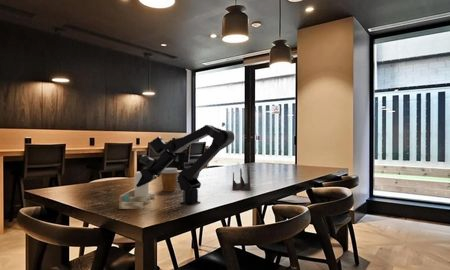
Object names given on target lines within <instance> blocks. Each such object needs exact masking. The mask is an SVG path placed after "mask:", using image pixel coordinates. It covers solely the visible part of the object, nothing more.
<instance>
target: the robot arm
mask: <svg viewBox="0 0 450 270" xmlns="http://www.w3.org/2000/svg"><path fill="white" fill-rule="evenodd" d="M206 137H210V138H212V141H211V144H210V146H208V147H207V148H206V150H205V151H204V152H203V153H202V154H201V155H200V156H199V157H198V158H197V160H196V161H195V162H193V164H192V165H189V166H185V167H183V168H182V169H181V171H179V172H177V175H178V176H176V179H177V183H178V185H179V188H180V191H183V192H182V201H180V204H183V205H187V206H192V205H197V204H201V203H202V202H201V201H199V190H198V189H200V188H201V186H202V183H201V181H200V180H199V177H200V172H201V171H203V170H204V169H205V167H207V165H208V164H209V163H210V162H211V161H212V160H213V159H214V158H215V156H217V155H218V153H220V151H222V150H224V149H225V148H227V147H228V146H229V145H232V143H233V142H234V141H235V134H234V132H233V131H232V130H228V129H227V130H226V129H222V128H219V127H216V126H214V125H210V124H205V125H203V127H201V128H198V129H196V130H195V131H193V132H190V133H188V134H186V135H184V136H182V137H179V138H178V137H177V138H174V139H170V140H169V141H167V142H165V141H164V139H163V138H162V136H157V137H156V138H154V139H153V140H151V141H150V142H149V147H150V148H151V150H152V151H153V152H154V153H155V155H157V156H158V155H159V156H158V157H157V158H152V157H150V156H149V155H146V154H143V155H141V157H139V161H138V162H139V163H141V164H144V165H146V167H144V168H142V169H141V170H139V171H140V173H141V174H142V177H141V179H140V180H139V182H138V183H137V185H136V186H137V187H140V186H142V185H144V184H146V183H151V182H153V181H154V180H156V179H157V178H159V177H160V176H161V174H162V171H163V170H164V169H165V168H168V166H169V165H170V164H171V163H172V162H173V161H175V162H179V155H177V154H175V153H182V152H183V151H184V150H186V149H187V148H188V147H189V146H190V145H192V144H194V143H196V142H198V141H200V140H202V139H203V138H206Z"/></svg>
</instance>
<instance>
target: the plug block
mask: <svg viewBox="0 0 450 270" xmlns="http://www.w3.org/2000/svg"><path fill="white" fill-rule="evenodd" d="M140 171H141V170H139V171H136V172H134V188H135V195H134V197H148V194H149V193H150V192H149V191H150V190H149V185H150V184H149V183H150V182H149V183H146V184H144V185H142V186H140V187H137V186H136V185H137V183H138V182H139V180H140V179H141V177H142V174H141V173H140Z"/></svg>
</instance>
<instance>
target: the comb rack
mask: <svg viewBox="0 0 450 270" xmlns="http://www.w3.org/2000/svg"><path fill="white" fill-rule="evenodd" d="M134 195H135V187H133V188H132V189H130V190H129V191H126V192H124V193H123V194H121V195H119V199H118V201H119V202H118V203H119V205H118V206H119V210H120V209H121V210H123V209H126V210H143V209H144V205H149V204H150V203H151V200H153V199H154V200H155V199H156V192H149V194H148V197H134Z"/></svg>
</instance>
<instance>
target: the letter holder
mask: <svg viewBox="0 0 450 270" xmlns="http://www.w3.org/2000/svg"><path fill="white" fill-rule="evenodd" d="M246 166H247V168H246V173H247V175H246V176H247V183H246V182H245V181H244V179H243V178H244V177H243V171H242V168H239V173H240V174H239V176H240V177H239V180H240V181H239V182H236V181H235V172H234V171H233V172H232V191H239V190H242V191H245V192H246V191H247V192H249V191H251V172H250V171H251V170H250V164H249V163H247V164H246Z"/></svg>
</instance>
